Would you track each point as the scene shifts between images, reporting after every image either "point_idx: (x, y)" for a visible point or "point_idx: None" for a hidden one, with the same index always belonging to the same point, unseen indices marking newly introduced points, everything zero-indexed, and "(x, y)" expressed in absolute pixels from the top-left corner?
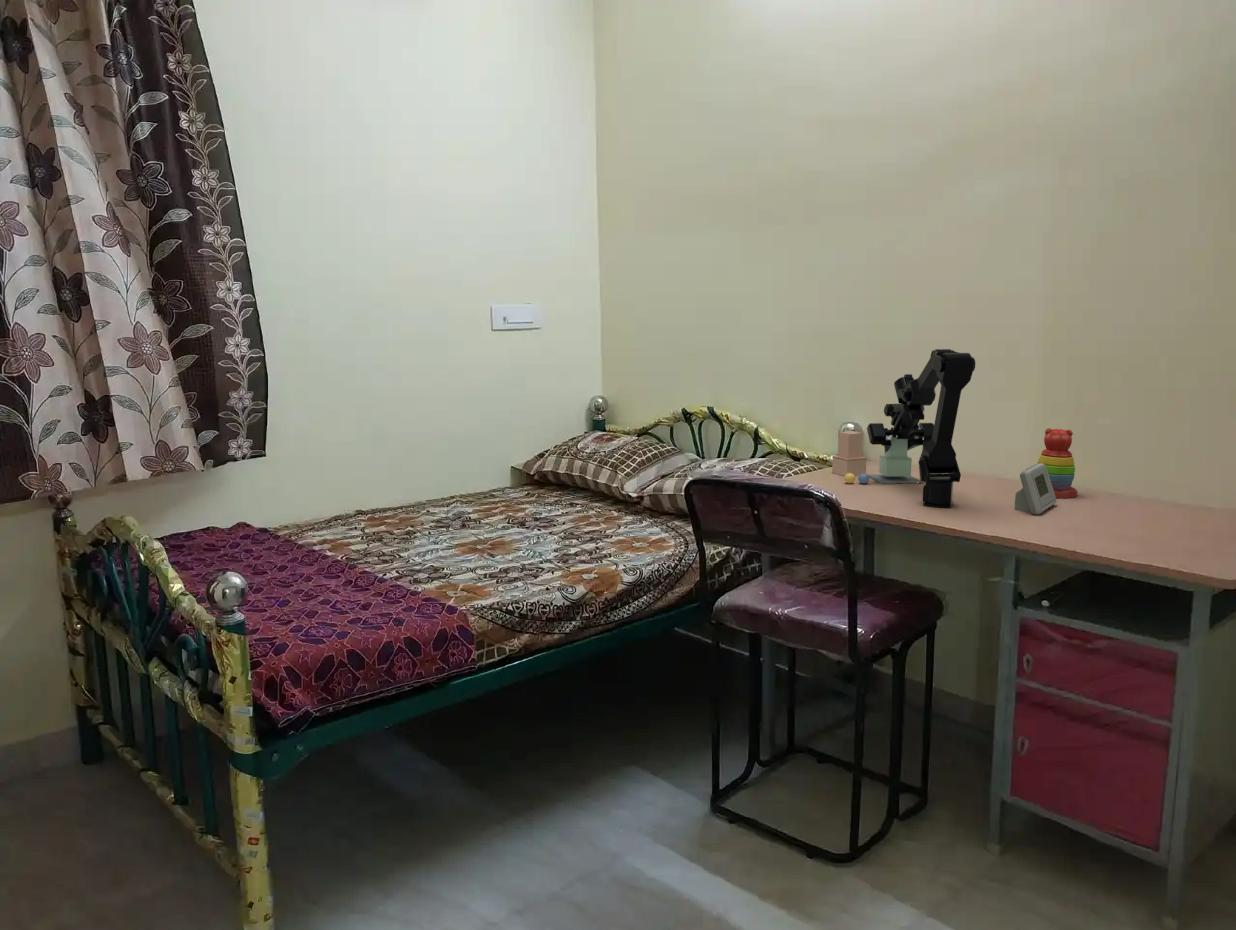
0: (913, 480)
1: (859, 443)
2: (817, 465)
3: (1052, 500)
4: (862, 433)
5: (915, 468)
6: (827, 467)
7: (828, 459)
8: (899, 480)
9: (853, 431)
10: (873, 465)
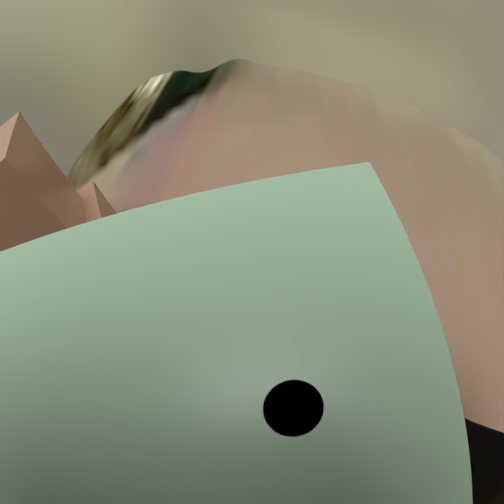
0: None
1: (28, 218)
2: (78, 162)
3: None
4: (4, 161)
5: (377, 142)
6: (87, 181)
7: (142, 93)
8: None
9: (14, 120)
10: (238, 120)
